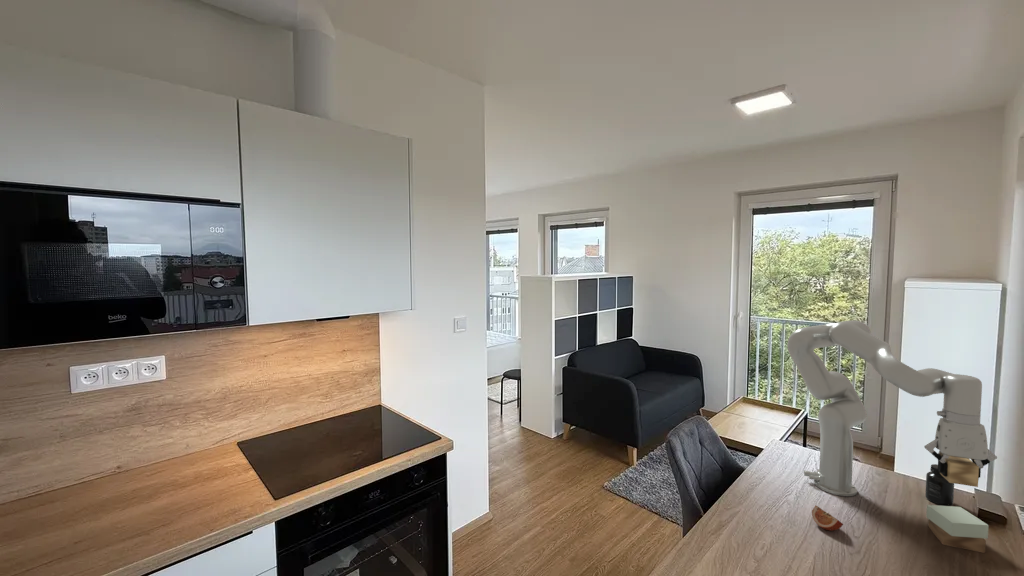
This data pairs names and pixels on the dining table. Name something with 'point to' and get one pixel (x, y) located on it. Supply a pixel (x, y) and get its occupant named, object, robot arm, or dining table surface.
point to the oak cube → (962, 471)
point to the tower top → (957, 521)
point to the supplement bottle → (938, 488)
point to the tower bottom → (957, 539)
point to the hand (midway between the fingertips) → (958, 476)
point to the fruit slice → (825, 519)
